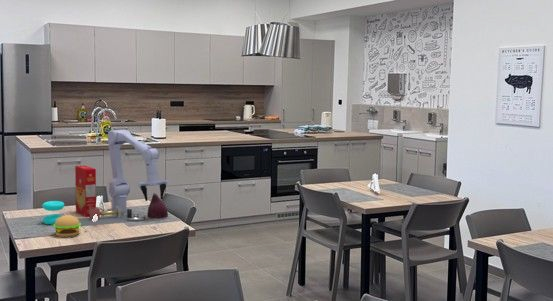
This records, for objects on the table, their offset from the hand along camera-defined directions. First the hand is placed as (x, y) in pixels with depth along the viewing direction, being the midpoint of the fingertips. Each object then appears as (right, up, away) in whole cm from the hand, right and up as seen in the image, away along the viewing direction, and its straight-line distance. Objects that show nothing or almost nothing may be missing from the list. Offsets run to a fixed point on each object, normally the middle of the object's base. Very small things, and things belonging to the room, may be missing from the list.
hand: (154, 200), depth 295 cm
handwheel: (-9, -10, -1) cm, 13 cm away
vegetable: (0, -10, +8) cm, 13 cm away
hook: (-24, -9, 0) cm, 25 cm away
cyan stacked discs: (-47, -11, -8) cm, 49 cm away
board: (-21, -10, -3) cm, 23 cm away
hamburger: (-33, -13, -30) cm, 46 cm away
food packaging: (-37, -9, +9) cm, 39 cm away
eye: (-18, -9, +3) cm, 21 cm away
